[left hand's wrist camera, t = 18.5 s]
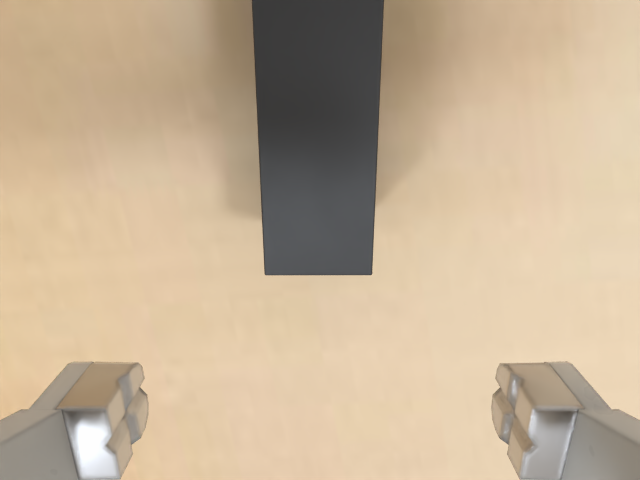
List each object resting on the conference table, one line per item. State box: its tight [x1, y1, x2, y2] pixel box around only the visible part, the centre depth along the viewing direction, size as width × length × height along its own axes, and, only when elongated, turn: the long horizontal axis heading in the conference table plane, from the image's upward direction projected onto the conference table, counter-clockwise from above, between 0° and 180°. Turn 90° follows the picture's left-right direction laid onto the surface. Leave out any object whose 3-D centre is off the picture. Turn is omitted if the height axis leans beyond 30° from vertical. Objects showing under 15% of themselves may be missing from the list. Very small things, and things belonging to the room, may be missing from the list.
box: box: [252, 0, 384, 275], centre depth 25 cm, size 23×6×9 cm, turn 0°
